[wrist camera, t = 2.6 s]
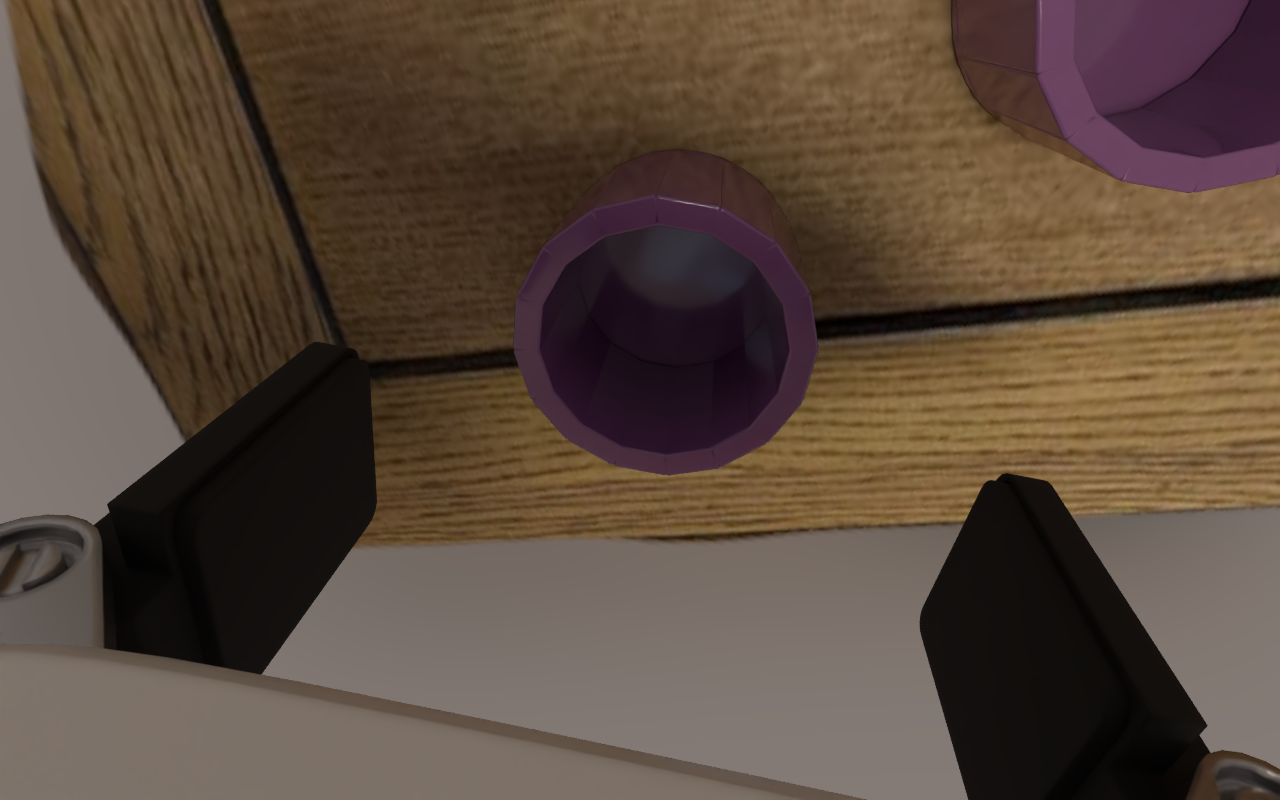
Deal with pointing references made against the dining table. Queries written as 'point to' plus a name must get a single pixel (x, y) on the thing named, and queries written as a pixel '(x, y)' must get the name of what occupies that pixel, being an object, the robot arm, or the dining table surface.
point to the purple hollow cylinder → (1133, 83)
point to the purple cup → (668, 317)
